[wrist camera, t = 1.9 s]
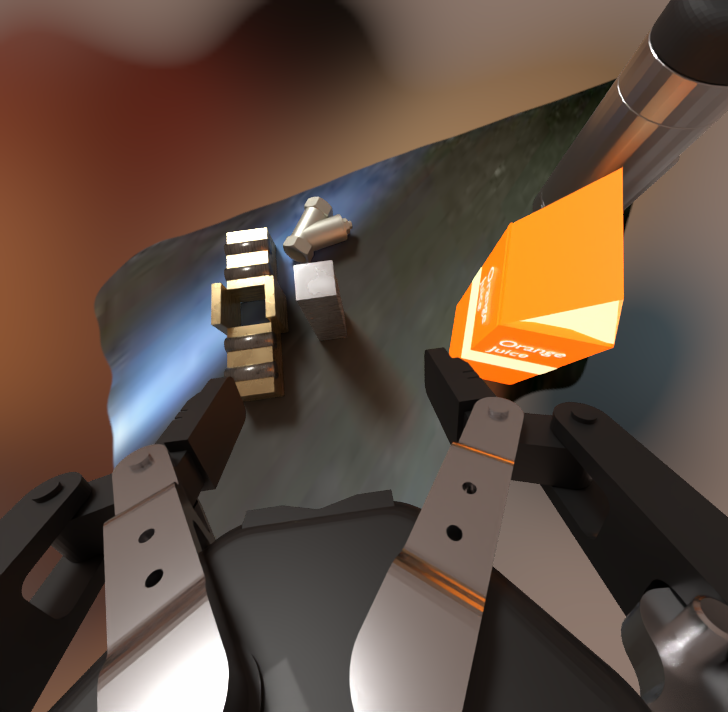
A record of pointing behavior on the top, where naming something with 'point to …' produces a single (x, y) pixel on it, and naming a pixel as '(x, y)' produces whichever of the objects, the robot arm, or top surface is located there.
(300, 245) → the pipe fitting
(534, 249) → the orange juice
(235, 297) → the gold block with rollers
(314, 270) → the square grey block
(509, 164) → the top surface
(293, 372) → the top surface
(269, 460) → the top surface
